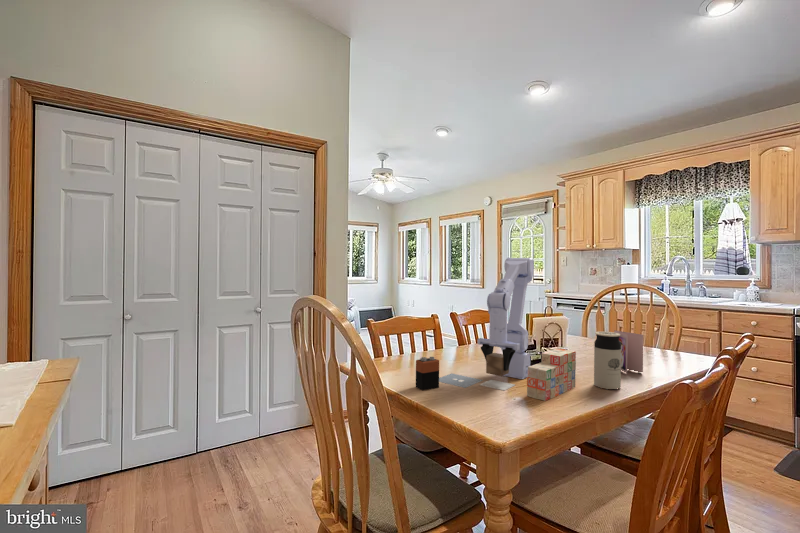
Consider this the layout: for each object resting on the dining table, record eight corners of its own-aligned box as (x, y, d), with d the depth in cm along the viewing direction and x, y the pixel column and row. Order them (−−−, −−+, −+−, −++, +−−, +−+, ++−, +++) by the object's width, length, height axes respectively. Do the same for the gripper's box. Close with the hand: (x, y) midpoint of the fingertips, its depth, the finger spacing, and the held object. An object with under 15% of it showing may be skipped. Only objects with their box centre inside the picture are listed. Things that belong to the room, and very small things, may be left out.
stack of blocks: (545, 401, 120) (546, 360, 120) (526, 396, 124) (527, 356, 124) (575, 387, 135) (576, 350, 135) (557, 383, 139) (557, 347, 139)
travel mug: (590, 382, 140) (591, 330, 140) (615, 383, 139) (615, 331, 139) (598, 389, 132) (599, 334, 132) (624, 391, 131) (625, 335, 131)
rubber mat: (515, 385, 135) (515, 384, 135) (504, 391, 129) (504, 390, 129) (491, 380, 141) (491, 379, 141) (479, 385, 135) (479, 384, 135)
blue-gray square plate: (483, 380, 141) (483, 380, 141) (465, 388, 132) (465, 387, 132) (451, 373, 149) (451, 373, 149) (432, 380, 140) (432, 380, 140)
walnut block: (508, 373, 135) (509, 355, 135) (501, 376, 131) (501, 357, 131) (493, 370, 139) (494, 352, 139) (486, 373, 135) (486, 355, 135)
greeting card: (611, 367, 161) (612, 330, 161) (631, 368, 160) (631, 330, 160) (624, 375, 150) (625, 335, 150) (645, 376, 149) (646, 335, 149)
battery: (415, 387, 132) (415, 357, 132) (431, 384, 136) (432, 354, 136) (422, 391, 128) (422, 359, 128) (439, 387, 132) (439, 357, 132)
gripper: (473, 327, 137) (472, 366, 137) (513, 331, 127) (512, 374, 127) (483, 324, 142) (482, 363, 142) (522, 329, 133) (522, 370, 133)
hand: (497, 368), depth 135 cm, fingers closed on walnut block, 5 cm apart
